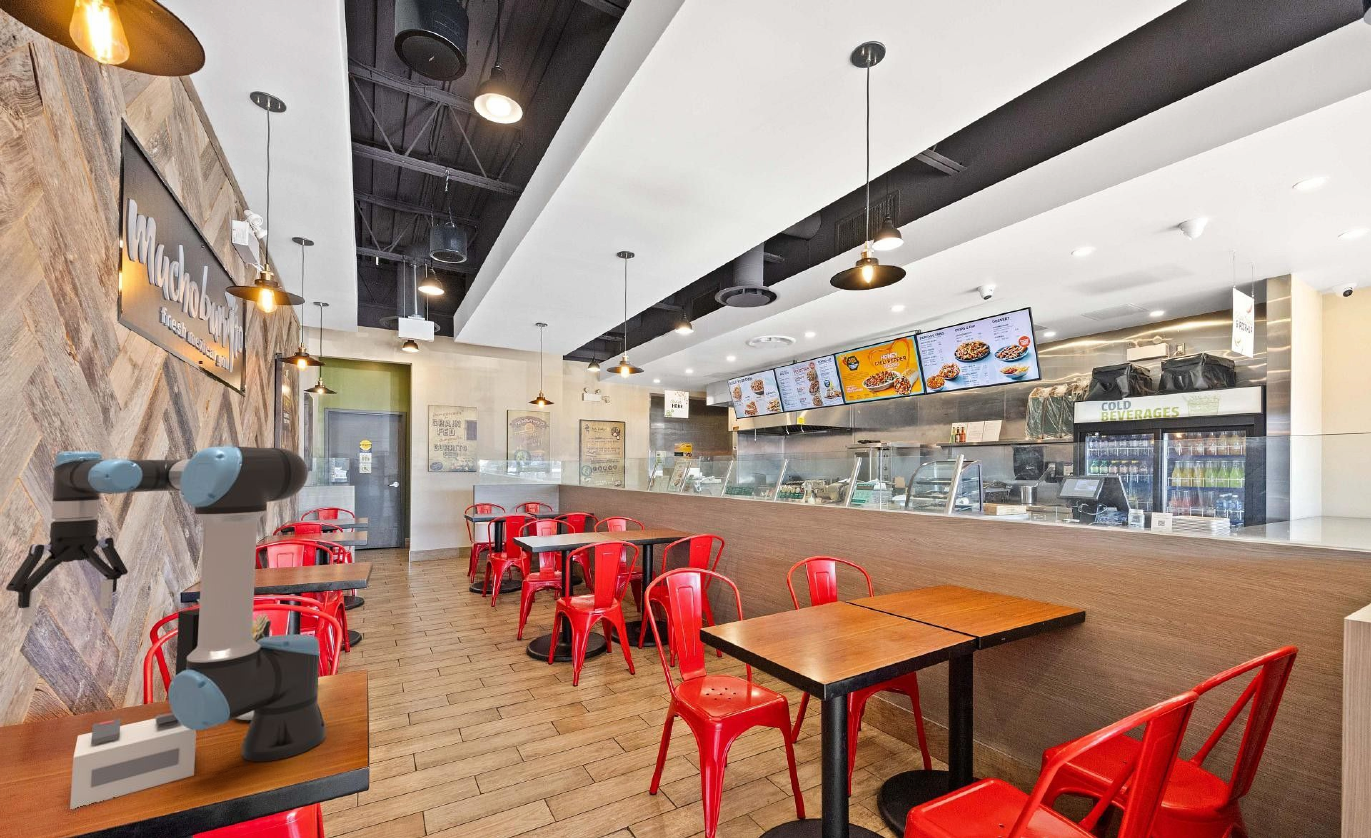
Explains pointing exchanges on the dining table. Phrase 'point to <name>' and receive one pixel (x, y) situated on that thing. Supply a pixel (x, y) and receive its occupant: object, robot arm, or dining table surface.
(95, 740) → the rocker outer
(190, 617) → the tissue box
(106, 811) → the dining table surface
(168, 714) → the block
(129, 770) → the switch box
